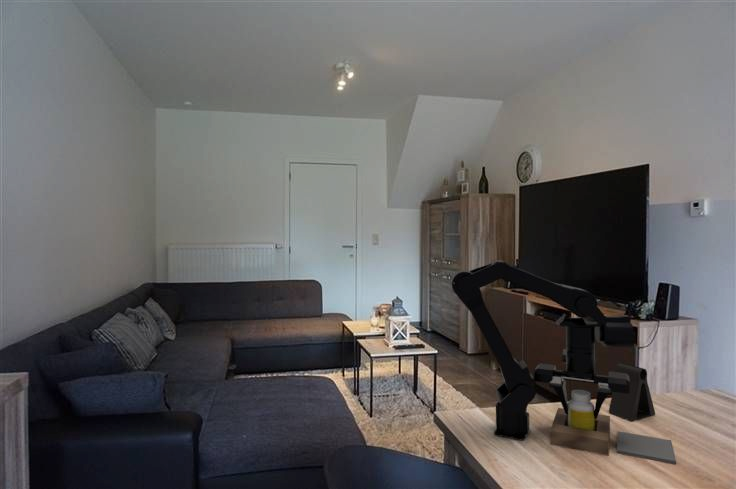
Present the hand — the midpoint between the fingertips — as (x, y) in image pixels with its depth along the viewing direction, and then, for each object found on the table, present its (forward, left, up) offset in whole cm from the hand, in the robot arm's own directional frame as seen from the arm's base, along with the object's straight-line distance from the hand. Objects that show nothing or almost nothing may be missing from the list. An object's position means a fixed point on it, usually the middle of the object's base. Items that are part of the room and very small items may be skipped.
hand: (581, 416), depth 99 cm
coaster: (+12, 0, -4) cm, 13 cm away
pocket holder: (0, 0, -4) cm, 4 cm away
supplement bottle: (0, 0, -5) cm, 5 cm away
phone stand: (+10, +19, -5) cm, 22 cm away
